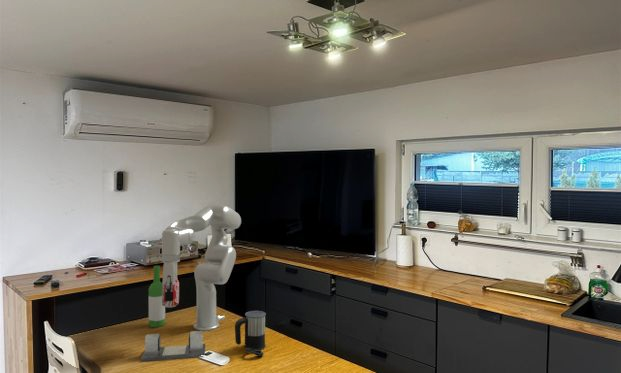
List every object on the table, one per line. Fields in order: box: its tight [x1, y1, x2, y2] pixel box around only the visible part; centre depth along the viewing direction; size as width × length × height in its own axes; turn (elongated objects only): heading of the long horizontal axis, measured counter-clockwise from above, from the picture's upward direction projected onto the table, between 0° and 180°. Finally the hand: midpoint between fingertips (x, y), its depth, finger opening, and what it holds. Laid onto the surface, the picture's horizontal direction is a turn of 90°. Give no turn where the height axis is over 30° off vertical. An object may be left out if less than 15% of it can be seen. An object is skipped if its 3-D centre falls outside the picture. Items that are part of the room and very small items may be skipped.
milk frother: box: [234, 310, 267, 357], centre depth 184 cm, size 14×16×15 cm
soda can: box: [161, 277, 180, 308], centre depth 186 cm, size 7×7×12 cm
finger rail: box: [140, 330, 206, 363], centre depth 180 cm, size 25×10×8 cm, turn 102°
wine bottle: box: [148, 265, 166, 328], centre depth 214 cm, size 8×8×30 cm
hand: (170, 298), depth 186 cm, fingers closed on soda can, 7 cm apart
